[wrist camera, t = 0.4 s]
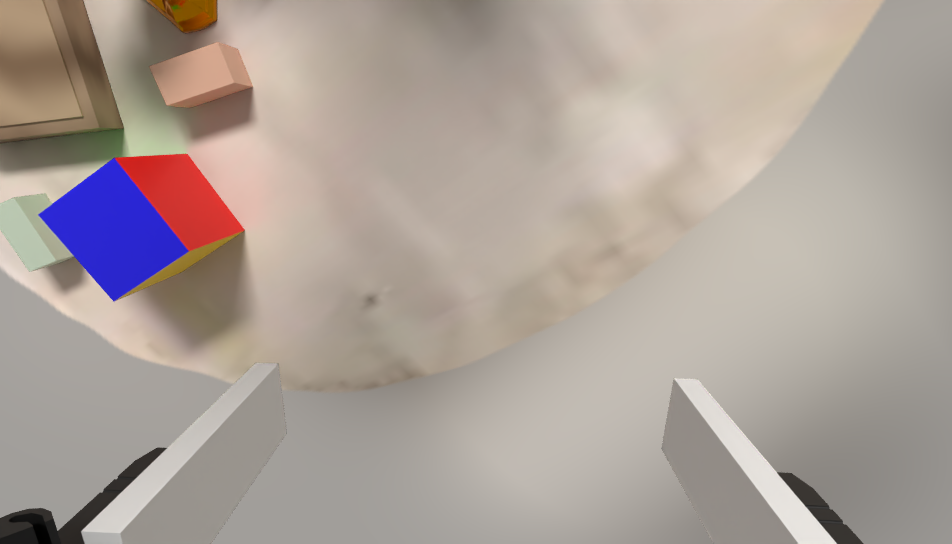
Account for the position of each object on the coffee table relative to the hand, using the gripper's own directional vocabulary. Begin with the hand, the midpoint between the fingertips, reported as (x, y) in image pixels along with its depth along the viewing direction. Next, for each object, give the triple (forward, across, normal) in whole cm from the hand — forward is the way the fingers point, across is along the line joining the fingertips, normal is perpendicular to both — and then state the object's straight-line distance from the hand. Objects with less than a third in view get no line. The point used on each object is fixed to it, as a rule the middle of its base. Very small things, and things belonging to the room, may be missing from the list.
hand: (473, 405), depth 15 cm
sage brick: (+27, -41, -1) cm, 49 cm away
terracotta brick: (+27, -23, +13) cm, 38 cm away
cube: (+27, -28, +1) cm, 39 cm away
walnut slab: (+27, -38, +14) cm, 49 cm away
